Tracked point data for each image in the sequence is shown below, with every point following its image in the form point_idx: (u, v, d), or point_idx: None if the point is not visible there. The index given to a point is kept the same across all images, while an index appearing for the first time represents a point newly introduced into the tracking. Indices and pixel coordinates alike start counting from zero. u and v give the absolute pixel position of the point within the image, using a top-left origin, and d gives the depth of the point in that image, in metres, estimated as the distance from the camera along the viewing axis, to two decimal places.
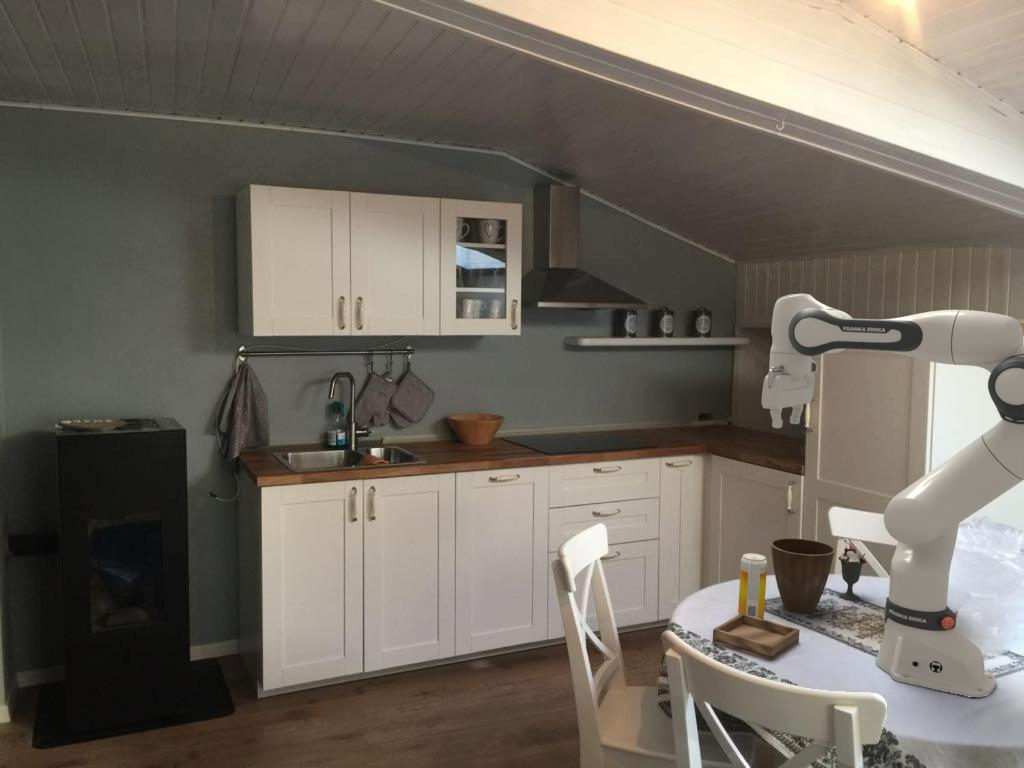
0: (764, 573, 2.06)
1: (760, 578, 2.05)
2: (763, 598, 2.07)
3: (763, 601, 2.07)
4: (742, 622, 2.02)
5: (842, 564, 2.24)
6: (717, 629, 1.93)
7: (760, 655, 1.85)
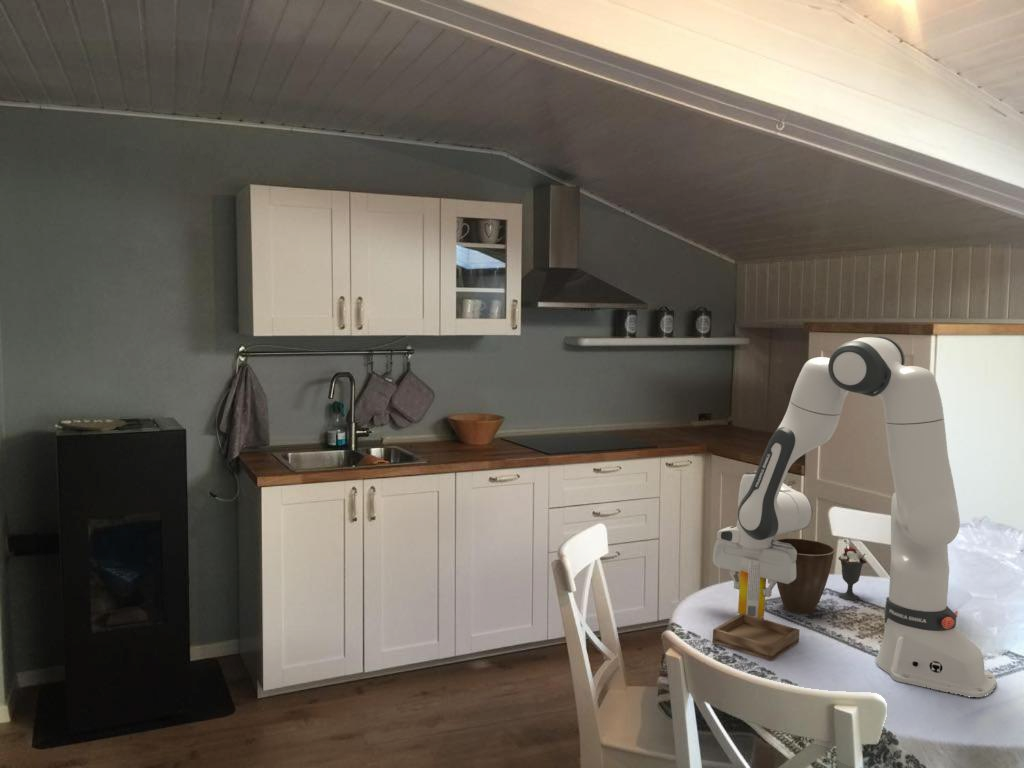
0: None
1: (760, 578, 2.05)
2: (763, 598, 2.07)
3: (763, 601, 2.07)
4: (742, 622, 2.02)
5: (842, 564, 2.24)
6: (717, 629, 1.93)
7: (760, 655, 1.85)
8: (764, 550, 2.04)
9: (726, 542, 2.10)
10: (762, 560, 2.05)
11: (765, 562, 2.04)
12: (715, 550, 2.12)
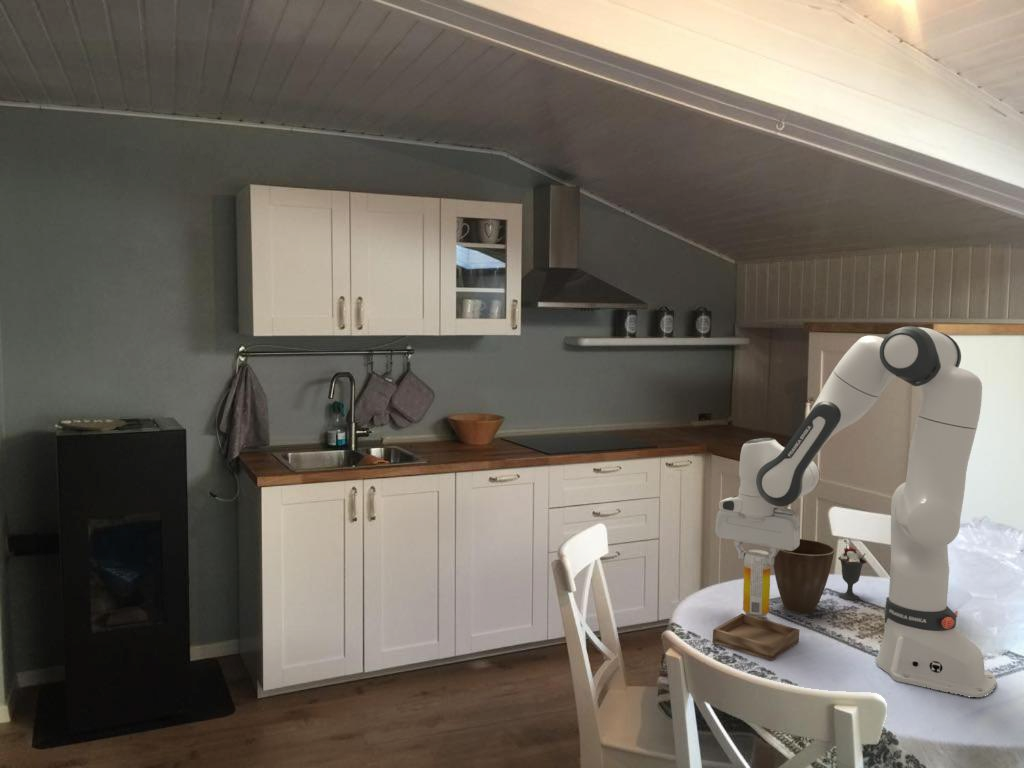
0: (767, 569, 2.05)
1: (762, 574, 2.05)
2: (767, 594, 2.06)
3: (767, 597, 2.06)
4: (742, 622, 2.02)
5: (842, 564, 2.24)
6: (717, 629, 1.93)
7: (760, 655, 1.85)
8: (766, 518, 2.03)
9: (728, 512, 2.08)
10: (765, 529, 2.04)
11: (768, 530, 2.03)
12: (717, 521, 2.11)
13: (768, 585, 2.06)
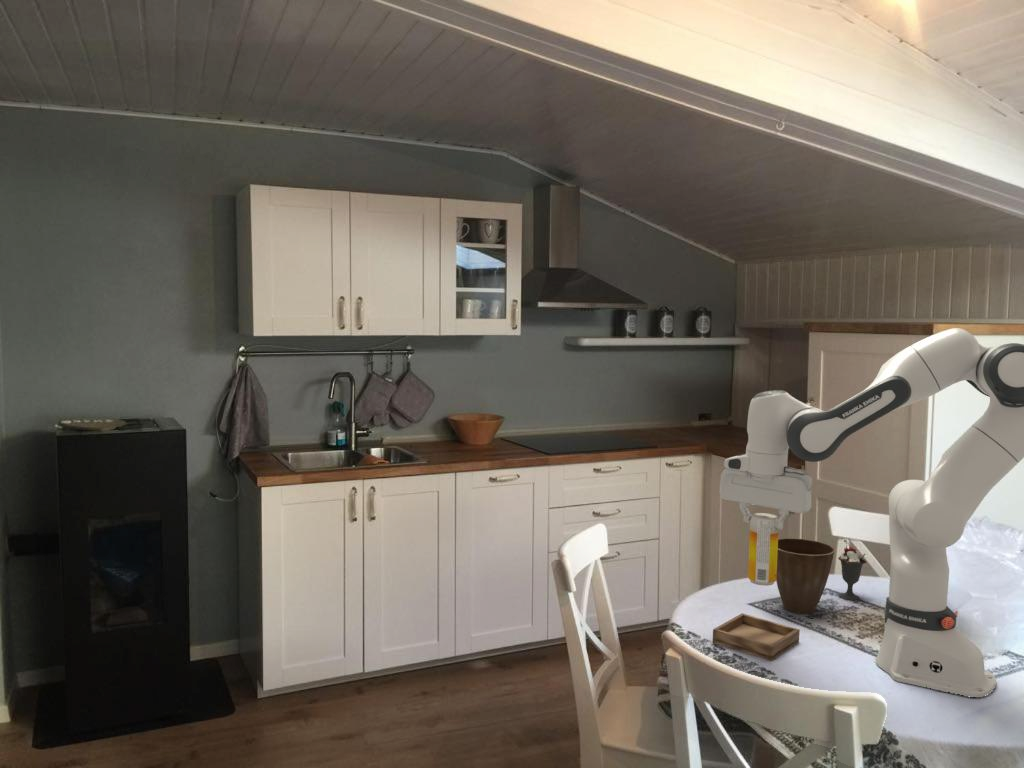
0: (775, 533, 1.88)
1: (770, 538, 1.88)
2: (774, 561, 1.89)
3: (775, 564, 1.89)
4: (742, 622, 2.02)
5: (842, 564, 2.24)
6: (717, 629, 1.93)
7: (760, 655, 1.85)
8: (776, 478, 1.86)
9: (734, 471, 1.92)
10: (774, 489, 1.87)
11: (777, 491, 1.86)
12: (722, 481, 1.94)
13: (776, 551, 1.89)
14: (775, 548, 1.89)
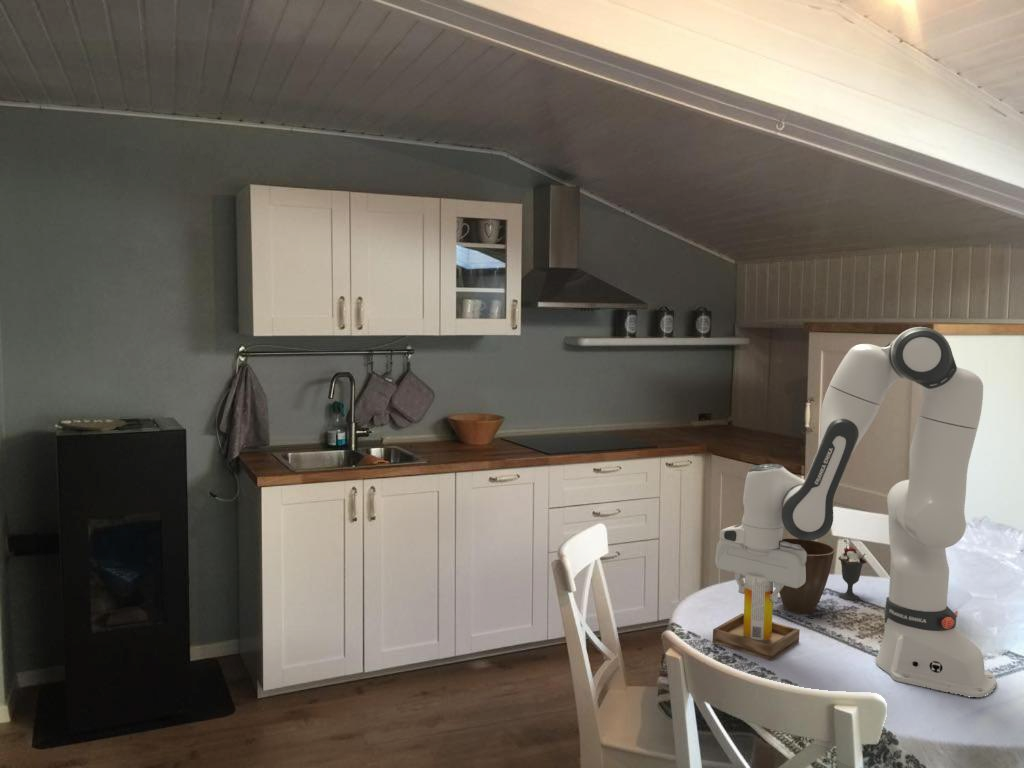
0: (770, 591, 1.90)
1: (765, 596, 1.89)
2: (769, 618, 1.90)
3: (769, 621, 1.91)
4: (742, 622, 2.02)
5: (842, 564, 2.24)
6: (717, 629, 1.93)
7: (760, 655, 1.85)
8: (771, 551, 1.88)
9: (730, 542, 1.93)
10: (769, 563, 1.89)
11: (772, 564, 1.88)
12: (718, 551, 1.96)
13: (770, 608, 1.90)
14: (770, 605, 1.90)
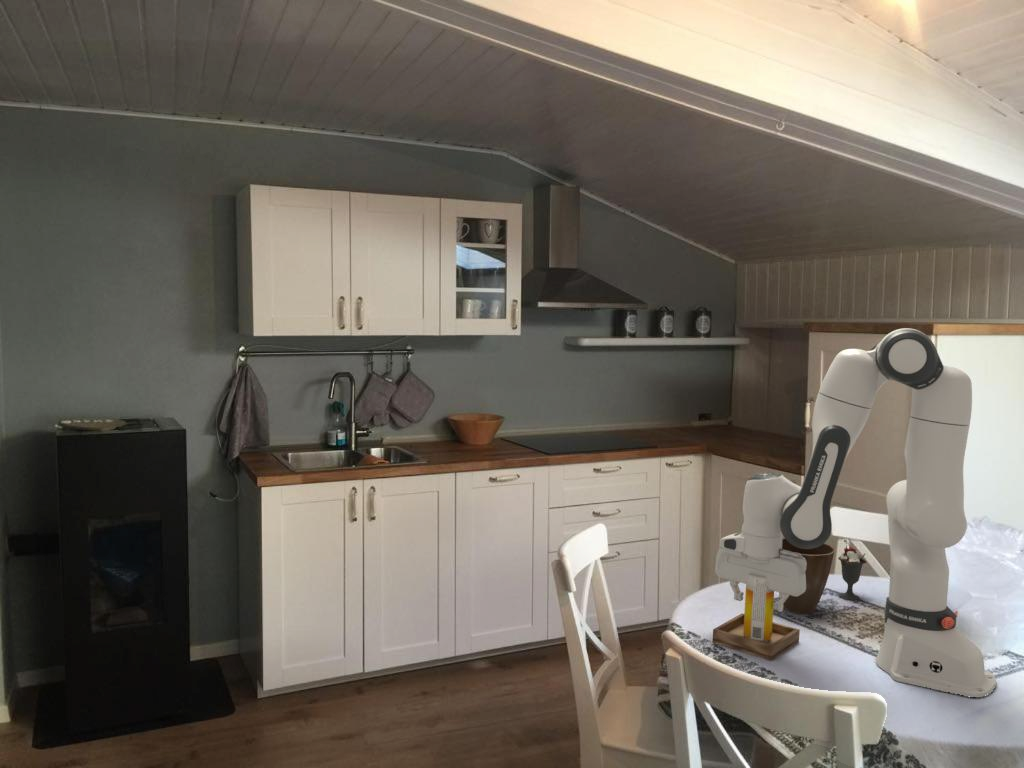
0: (771, 592, 1.90)
1: (766, 597, 1.89)
2: (770, 619, 1.90)
3: (770, 622, 1.90)
4: (742, 622, 2.02)
5: (842, 564, 2.24)
6: (717, 629, 1.93)
7: (760, 655, 1.85)
8: (771, 560, 1.88)
9: (730, 551, 1.94)
10: (769, 571, 1.89)
11: (772, 573, 1.88)
12: (718, 559, 1.96)
13: (771, 609, 1.90)
14: (771, 606, 1.90)
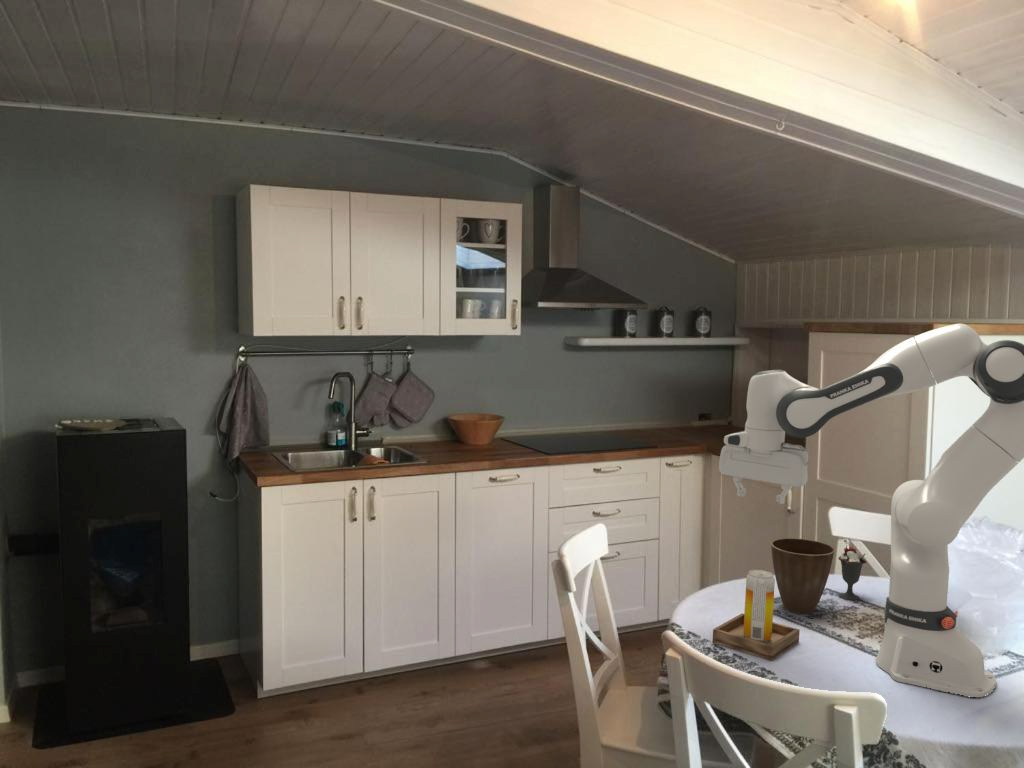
0: (771, 592, 1.90)
1: (766, 597, 1.89)
2: (770, 619, 1.90)
3: (770, 622, 1.90)
4: (742, 622, 2.02)
5: (842, 564, 2.24)
6: (717, 629, 1.93)
7: (760, 655, 1.85)
8: (774, 453, 1.94)
9: (733, 447, 1.99)
10: (772, 464, 1.95)
11: (775, 466, 1.94)
12: (721, 457, 2.02)
13: (771, 609, 1.90)
14: (771, 606, 1.90)
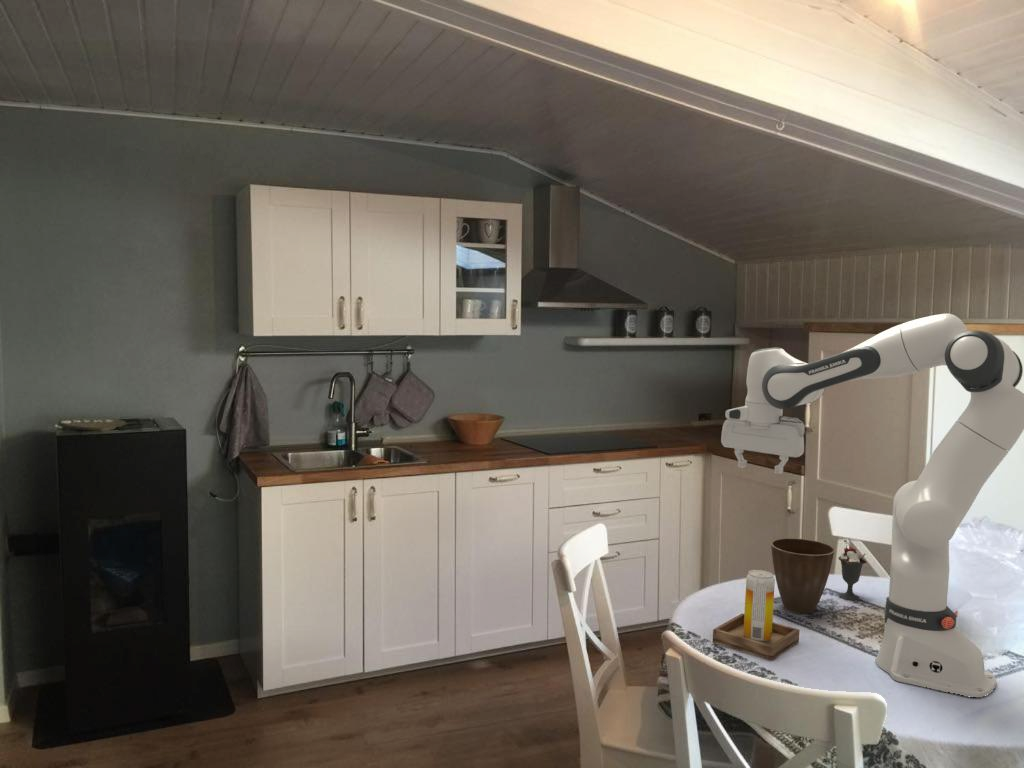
0: (771, 592, 1.90)
1: (766, 597, 1.89)
2: (770, 619, 1.90)
3: (770, 622, 1.90)
4: (742, 622, 2.02)
5: (842, 564, 2.24)
6: (717, 629, 1.93)
7: (760, 655, 1.85)
8: (772, 426, 2.06)
9: (734, 421, 2.12)
10: (770, 436, 2.07)
11: (773, 438, 2.06)
12: (723, 430, 2.14)
13: (771, 609, 1.90)
14: (771, 606, 1.90)
